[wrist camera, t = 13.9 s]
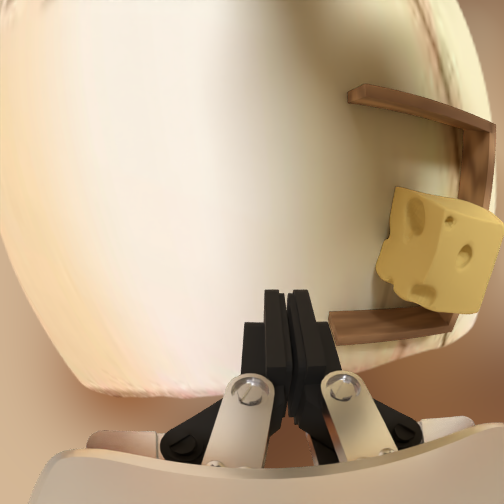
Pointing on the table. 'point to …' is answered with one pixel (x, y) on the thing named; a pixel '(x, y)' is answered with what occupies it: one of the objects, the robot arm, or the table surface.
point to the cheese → (439, 251)
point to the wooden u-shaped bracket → (471, 190)
